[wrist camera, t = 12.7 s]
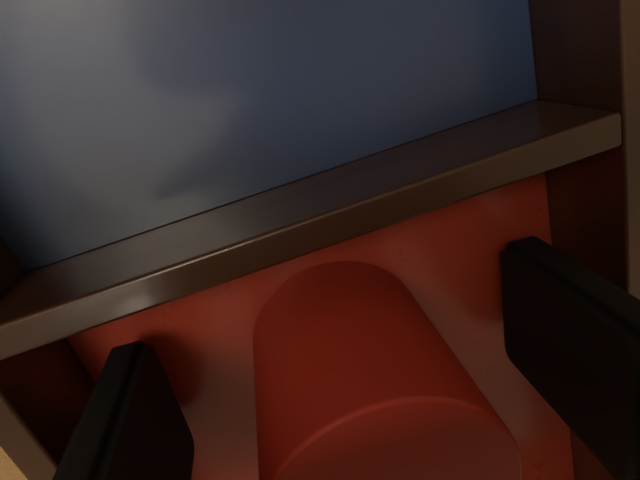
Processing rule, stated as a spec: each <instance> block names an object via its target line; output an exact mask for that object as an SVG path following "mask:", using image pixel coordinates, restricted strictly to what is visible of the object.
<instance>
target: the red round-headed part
mask: <svg viewBox="0 0 640 480" xmlns="http://www.w3.org/2000/svg"><path fill="white" fill-rule="evenodd" d="M253 362H254V384H255V407H256V429H257V452H258V474H259V480H522V464H521V457H520V452H519V449H518V446H517V443H516V441H515V439H514V437H513V435H512V434H511V432H510V430H509V429H508V427H507V426H506V425H505V423H504V422H503V421H502V419H501V418H500V416H499V415H498V414H497V412H496V411H495V409H494V408H493V407H492V405H491V404H490V402H489V401H488V400H487V398H486V397H485V396H484V394H483V393H482V391H481V390H480V389H479V387H478V386H477V384H476V383H475V382H474V380H473V379H472V377H471V376H470V375H469V373H468V372H467V371H466V369H465V368H464V366H463V365H462V364H461V362H460V361H459V359H458V358H457V357H456V355H455V354H454V352H453V351H452V350H451V348H450V347H449V345H448V344H447V343H446V341H445V340H444V339H443V337H442V336H441V334H440V333H439V332H438V330H437V329H436V327H435V326H434V325H433V323H432V322H431V320H430V319H429V318H428V316H427V315H426V314H425V312H424V311H423V309H422V308H421V307H420V305H419V304H418V302H417V301H416V300H415V298H414V297H413V295H412V294H411V293H410V291H409V290H408V289H407V288H406V286H405V285H404V284H403V283H402V282H401V281H400V280H398V279H397V278H396V277H395V276H393V275H392V274H390V273H389V272H387V271H385V270H383V269H381V268H378V267H376V266H372V265H369V264H364V263H359V262H332V263H327V264H322V265H319V266H316V267H313V268H310V269H308V270H305V271H303V272H301V273H299V274H297V275H296V276H294V277H293V278H291V279H289V280H288V281H287V282H286V283H284V284H283V285H282V286H280V287H279V289H278V290H277V291H276V292H275V293H274V294H273V295H272V296H271V297H270V298H269V300H268V301H267V302H266V304H265V305H264V307H263V309H262V310H261V312H260V314H259V317H258V319H257V322H256V325H255V329H254V333H253Z"/></svg>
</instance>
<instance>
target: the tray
mask: <svg viewBox="0 0 640 480" xmlns="http://www.w3.org/2000/svg"><path fill="white" fill-rule="evenodd" d="M530 236H536V237H538V238H539V239H541V240H543V241H544V242H546V243H548V244H549V245H551V246H553V247H554V248H556V249H557V250H559V251H561V252H562V253H564V254H566V255H567V256H569V257H571V258H572V259H574V260H575V261H577V262H579V263H580V264H582V265H584V266H585V267H587V268H589V269H590V270H592V271H593V272H595V273H597V274H598V275H600V276H602V277H603V278H605V279H607V280H608V281H610V282H611V283H613V284H615V285H616V286H618V287H620V288H621V289H623V290H625V291H626V292H628V293H629V294H631V295H633V296H634V297H636V298H638V299H639V300H640V0H0V446H1V447H2V448H3V450H4V451H5V452H6V453H7V455H8V456H9V457H10V458H11V459H12V461H13V462H14V463H15V464H16V466H17V467H18V468H19V469H20V470H21V472H22V473H23V474H24V475H25V477H26V478H27V479H28V480H52V479H53V476H54V474H55V472H56V470H57V467H58V465H59V463H60V461H61V458H62V456H63V454H64V452H65V449H66V447H67V445H68V443H69V440H70V438H71V436H72V433H73V431H74V429H75V427H76V426H77V424H78V422H79V421H80V419H81V417H82V414H83V412H84V410H85V408H86V405H87V403H88V401H89V398H90V396H91V394H92V392H93V389H94V387H95V385H96V382H97V380H98V378H99V376H100V373H101V371H102V369H103V366H104V364H105V362H106V360H107V357H108V355H109V353H110V351H111V349H112V348H113V347H116V346H120V345H124V344H128V343H131V342H135V341H139V340H140V341H142V342H143V343H144V344H145V346H146V345H150V344H151V345H153V347H154V348H155V350H156V352H157V355H158V357H159V359H160V362H161V364H162V366H163V369H164V371H165V373H166V376H167V378H168V380H169V383H170V385H171V387H172V389H173V392H174V394H175V396H176V399H177V401H178V403H179V406H180V408H181V410H182V413H183V415H184V417H185V420H186V422H187V424H188V427H189V429H190V431H191V434H192V436H193V440H194V460H193V469H192V478H191V480H259V474H258V452H257V429H256V407H255V384H254V362H253V333H254V329H255V325H256V322H257V319H258V317H259V314H260V312H261V310H262V309H263V307H264V305H265V304H266V302H267V301H268V300H269V298H270V297H271V296H272V295H273V294H274V293H275V292H276V291H277V290H278V289H279V287H280V286H282V285H283V284H284V283H286V282H287V281H288V280H289V279H291V278H293V277H294V276H296V275H297V274H299V273H301V272H303V271H305V270H308V269H310V268H313V267H316V266H319V265H322V264H327V263H332V262H359V263H364V264H369V265H372V266H376V267H378V268H381V269H383V270H385V271H387V272H389V273H390V274H392V275H393V276H395V277H396V278H397V279H398V280H400V281H401V282H402V283H403V284H404V285H405V286H406V288H407V289H408V290H409V291H410V293H411V294H412V295H413V297H414V298H415V300H416V301H417V302H418V304H419V305H420V307H421V308H422V309H423V311H424V312H425V314H426V315H427V316H428V318H429V319H430V320H431V322H432V323H433V325H434V326H435V327H436V329H437V330H438V332H439V333H440V334H441V336H442V337H443V339H444V340H445V341H446V343H447V344H448V345H449V347H450V348H451V350H452V351H453V352H454V354H455V355H456V357H457V358H458V359H459V361H460V362H461V364H462V365H463V366H464V368H465V369H466V371H467V372H468V373H469V375H470V376H471V377H472V379H473V380H474V382H475V383H476V384H477V386H478V387H479V389H480V390H481V391H482V393H483V394H484V396H485V397H486V398H487V400H488V401H489V402H490V404H491V405H492V407H493V408H494V409H495V411H496V412H497V414H498V415H499V416H500V418H501V419H502V421H503V422H504V423H505V425H506V426H507V427H508V429H509V430H510V432H511V434H512V435H513V437H514V439H515V441H516V443H517V446H518V449H519V452H520V457H521V464H522V480H616V479H615V478H614V477H613V476H612V475H611V474H610V473H609V472H608V471H607V469H606V468H605V467H604V466H603V465H602V464H601V463H600V462H599V460H598V459H597V458H596V457H595V456H594V455H593V454H592V453H591V451H590V450H589V449H588V448H587V447H586V446H585V445H584V444H583V442H582V441H581V440H580V439H579V438H578V437H577V436H576V434H575V433H574V432H573V431H572V430H571V429H570V428H569V427H568V425H567V424H566V423H565V422H564V421H563V420H562V419H561V418H560V416H559V415H558V414H557V413H556V412H555V411H554V410H553V409H552V407H551V406H550V405H549V404H548V403H547V402H546V401H545V400H544V398H543V397H542V396H541V395H540V394H539V393H538V392H537V390H536V389H535V388H534V387H533V386H532V385H531V384H530V383H529V381H528V380H527V379H526V378H525V377H524V376H523V375H522V374H521V372H520V371H519V370H518V369H517V368H516V367H515V366H514V365H513V363H512V362H511V361H510V359H509V358H508V356H507V353H506V350H505V344H504V325H503V306H502V287H501V268H500V253H501V251H502V250H506V245H507V244H508V243H509V242H511V241H515V240H519V239H523V238H526V237H530Z"/></svg>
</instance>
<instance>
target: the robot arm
mask: <svg viewBox="0 0 640 480" xmlns="http://www.w3.org/2000/svg"><path fill="white" fill-rule="evenodd" d="M500 268H501V287H502V306H503V325H504V344H505V350H506V353H507V356H508V358H509V359H510V361H511V362H512V363H513V365H514V366H515V367H516V368H517V369H518V370H519V371H520V372H521V374H522V375H523V376H524V377H525V378H526V379H527V380H528V381H529V383H530V384H531V385H532V386H533V387H534V388H535V389H536V390H537V392H538V393H539V394H540V395H541V396H542V397H543V398H544V400H545V401H546V402H547V403H548V404H549V405H550V406H551V407H552V409H553V410H554V411H555V412H556V413H557V414H558V415H559V416H560V418H561V419H562V420H563V421H564V422H565V423H566V424H567V425H568V427H569V428H570V429H571V430H572V431H573V432H574V433H575V434H576V436H577V437H578V438H579V439H580V440H581V441H582V442H583V444H584V445H585V446H586V447H587V448H588V449H589V450H590V451H591V453H592V454H593V455H594V456H595V457H596V458H597V459H598V460H599V462H600V463H601V464H602V465H603V466H604V467H605V468H606V469H607V471H608V472H609V473H610V474H611V475H612V476H613V477H614V478H615V479H616V480H640V300H639V299H638V298H636V297H634V296H633V295H631V294H629V293H628V292H626V291H625V290H623V289H621V288H620V287H618V286H616V285H615V284H613V283H611V282H610V281H608V280H607V279H605V278H603V277H602V276H600V275H598V274H597V273H595V272H593V271H592V270H590V269H589V268H587V267H585V266H584V265H582V264H580V263H579V262H577V261H575V260H574V259H572V258H571V257H569V256H567V255H566V254H564V253H562V252H561V251H559V250H557V249H556V248H554V247H553V246H551V245H549V244H548V243H546V242H544V241H543V240H541V239H539V238H538V237H536V236H530V237H526V238H523V239H519V240H515V241H511V242H509V243H508V244H507V245H506V250H502V251H501V253H500ZM193 460H194V440H193V436H192V434H191V431H190V429H189V427H188V424H187V422H186V420H185V417H184V415H183V413H182V410H181V408H180V406H179V403H178V401H177V399H176V396H175V394H174V392H173V389H172V387H171V385H170V383H169V380H168V378H167V376H166V373H165V371H164V369H163V366H162V364H161V362H160V359H159V357H158V355H157V352H156V350H155V348H154V347H153V345H151V344H150V345H146V346H145V344H144V343H143V342H142V341H140V340H139V341H135V342H131V343H128V344H124V345H120V346H116V347H113V348H112V349H111V351H110V353H109V355H108V357H107V360H106V362H105V364H104V366H103V369H102V371H101V373H100V376H99V378H98V380H97V382H96V385H95V387H94V389H93V392H92V394H91V396H90V398H89V401H88V403H87V405H86V408H85V410H84V412H83V414H82V417H81V419H80V421H79V422H78V424H77V426H76V427H75V429H74V431H73V433H72V436H71V438H70V440H69V443H68V445H67V447H66V449H65V452H64V454H63V456H62V458H61V461H60V463H59V465H58V467H57V470H56V472H55V474H54V476H53V479H52V480H191V478H192V469H193Z"/></svg>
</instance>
